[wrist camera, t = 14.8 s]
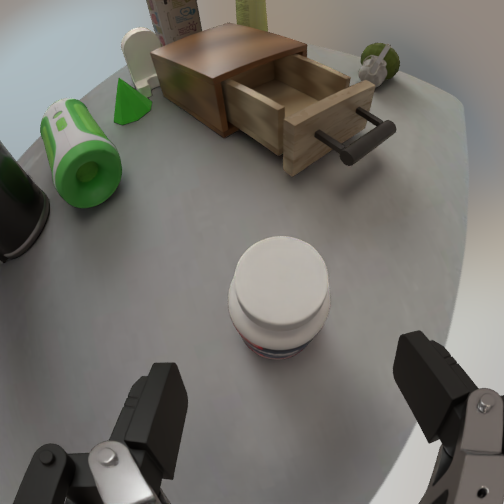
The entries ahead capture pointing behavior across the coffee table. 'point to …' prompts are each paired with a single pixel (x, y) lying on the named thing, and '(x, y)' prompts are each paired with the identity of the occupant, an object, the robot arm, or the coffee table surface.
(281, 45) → the wooden mini dresser
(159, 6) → the juice carton
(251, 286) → the pill bottle
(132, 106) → the gemstone
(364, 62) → the hand grenade
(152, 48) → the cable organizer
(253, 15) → the tube
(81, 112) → the speaker
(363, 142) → the dresser drawer
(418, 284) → the coffee table surface
